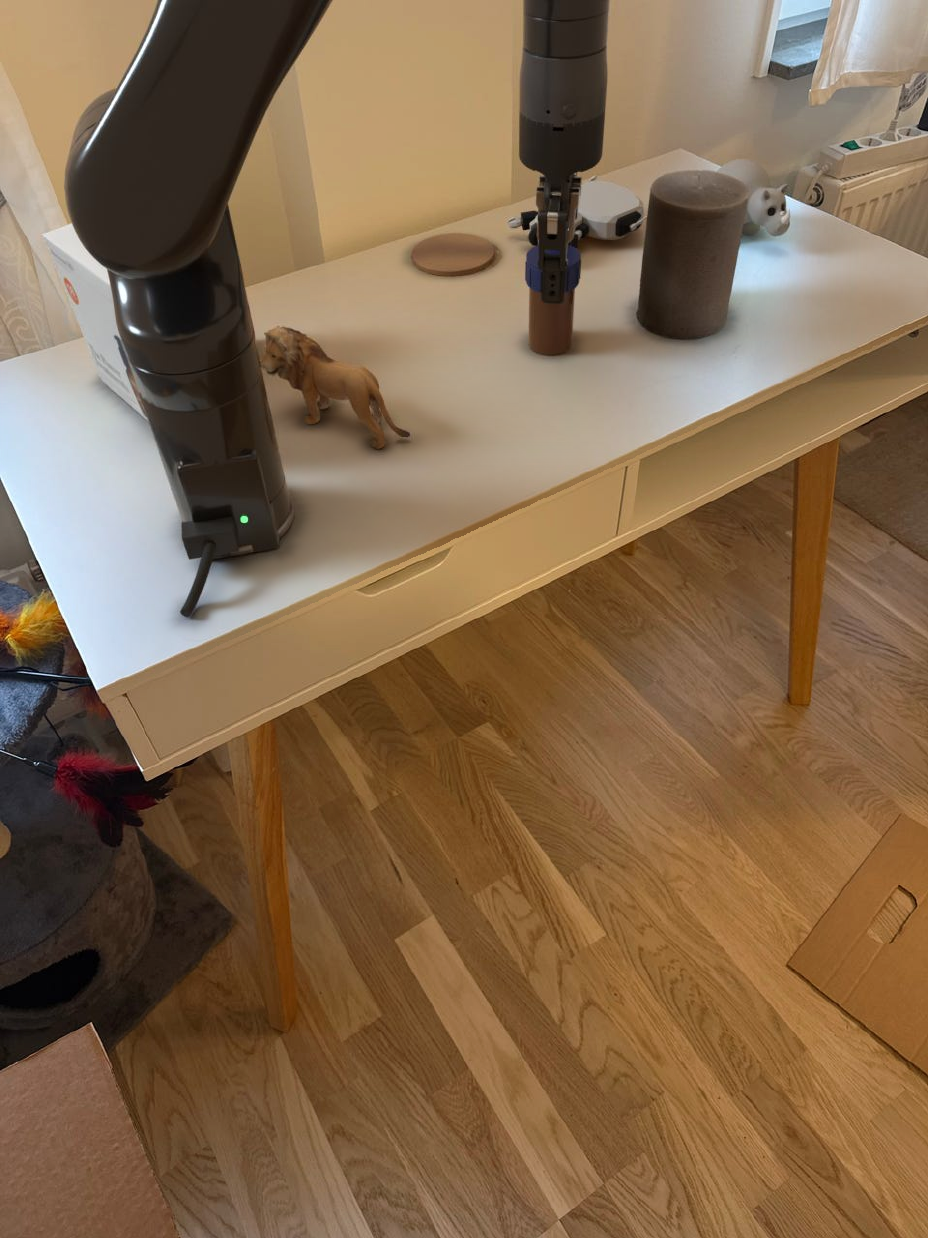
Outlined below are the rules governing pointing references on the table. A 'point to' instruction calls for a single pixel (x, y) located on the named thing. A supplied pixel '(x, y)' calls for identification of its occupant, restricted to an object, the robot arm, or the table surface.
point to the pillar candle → (690, 252)
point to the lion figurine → (325, 379)
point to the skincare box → (94, 311)
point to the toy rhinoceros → (760, 198)
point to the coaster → (452, 254)
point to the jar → (550, 324)
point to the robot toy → (595, 213)
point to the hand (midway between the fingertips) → (555, 286)
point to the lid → (535, 275)
